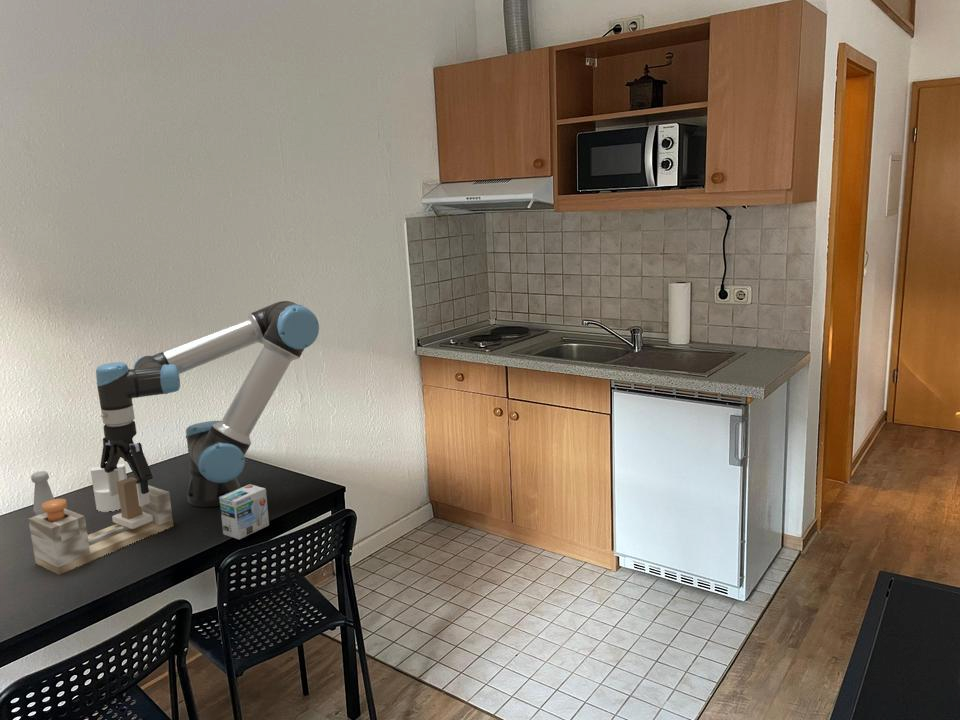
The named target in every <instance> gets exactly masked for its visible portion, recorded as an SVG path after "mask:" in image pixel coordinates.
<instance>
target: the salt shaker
mask: <svg viewBox="0 0 960 720" xmlns="http://www.w3.org/2000/svg"><path fill="white" fill-rule="evenodd" d="M49 479H50V476H49V473H48V472H47V471H45V470H43V471H36V472H34V473H33V474H31V475H30V480H31V482H32V483H34V489H33V490H34V492H33V509H32V510H33V513H34V514H35V516H37V515H40V514H43V513H45V512H43V509H42V504H43V503H44V502H46V501H49V500H53V499H55V497H54V495H53V492H52V489H51V488H50V484H49V482H48V480H49Z"/></svg>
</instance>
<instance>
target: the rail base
mask: <svg viewBox="0 0 960 720" xmlns="http://www.w3.org/2000/svg"><path fill="white" fill-rule="evenodd" d="M148 489H149V497H150V503H149V504H146V505H144V506H141V508H142V512H145V513H148V514H151V515H152V516H153V521H151V522H149V523H146V524H144V525H141V526H139V527H136V528H134V529H131V528H128V527H125V526H123V525H120V524H117V523H115V524H112V525H111V526H108V527H106V528H102V529H99V530H97V531H95V532H93V533H90V534H88V529H87V522H86V516H85V515H83V514H81V513H78V512H75V511H72V510H70V509H67V508H65V509H64V514H65V518H63V519H61V520H58V521H55V522H49V521H48V516H47V513H46V512H45V513H43V514H40V515H34V516H32V517H28V518H27V520H28V525H29V531H30V537H31V543H32V548H33V554H34V562H35V564H36V565H38V566H40V567H42V568H45V569H46V570H48V571H51V572H52V573H55V574H57V575H58V576H60V575H62V574H64V573H68V572H69V570H70V571H71V570H73V569H77V568H79V567H81V566H83V564H84V565H86V564H88V563H90V561H91V562H93V561H95V560H98V559H100V558H102V557H104V555H105V556H107V555H109V554H111V552H112V553H113V552H116V551H119V550H121V549H123V548H122V547H124V548H126V547H128V546H130V545H129V544H131V545H133V544H135V543H137V542H136V541H138V542H140V541H142V540H145V539H147V538H149V537H151V536H150V535H152V536H154V535H157V534H159V533H161V532H163V531H165V529H166V530H169V529H170V527H171V528H172V527H174V520H173V512H172V502H171V496H170V491H167V490H164V489H161V488H158V487H155V486H152V485H149V484H148ZM158 532H159V533H158ZM153 534H154V535H153ZM148 536H149V537H148ZM146 537H147V538H146ZM144 538H145V539H144ZM141 539H142V540H141ZM139 540H140V541H139ZM134 542H135V543H134ZM132 543H133V544H132ZM127 545H128V546H127ZM125 546H126V547H125ZM120 548H121V549H120ZM118 549H119V550H118ZM108 553H109V554H108ZM106 554H107V555H106ZM99 557H100V558H99ZM97 558H98V559H97ZM92 560H93V561H92ZM85 563H86V564H85ZM76 567H77V568H76Z"/></svg>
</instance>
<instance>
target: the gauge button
mask: <svg viewBox="0 0 960 720" xmlns="http://www.w3.org/2000/svg"><path fill="white" fill-rule="evenodd" d="M67 507H68V504H67V500H66V499H65V498H54V499H53V500H49V501H46V502H44V503H43V504H42V509H43V512H46V513H47V516H48V521H49V522H55V521H58V520H61V519H63V518H65V514H64V509H67Z"/></svg>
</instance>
